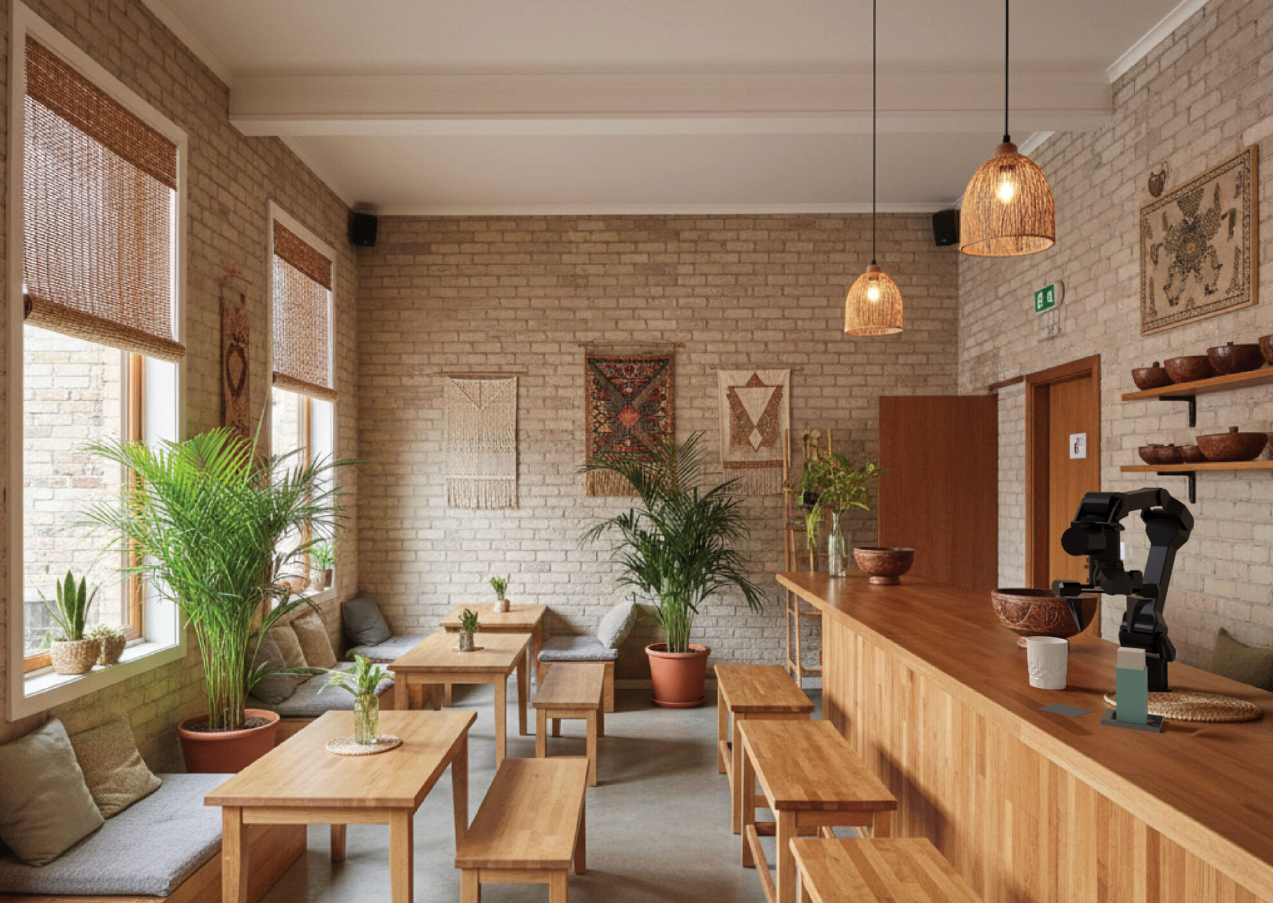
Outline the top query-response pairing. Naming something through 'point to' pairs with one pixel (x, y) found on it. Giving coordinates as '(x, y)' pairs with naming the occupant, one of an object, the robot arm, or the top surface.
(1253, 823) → the top surface
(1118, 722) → the socket
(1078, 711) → the pad
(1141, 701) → the peg
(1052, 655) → the white cup
